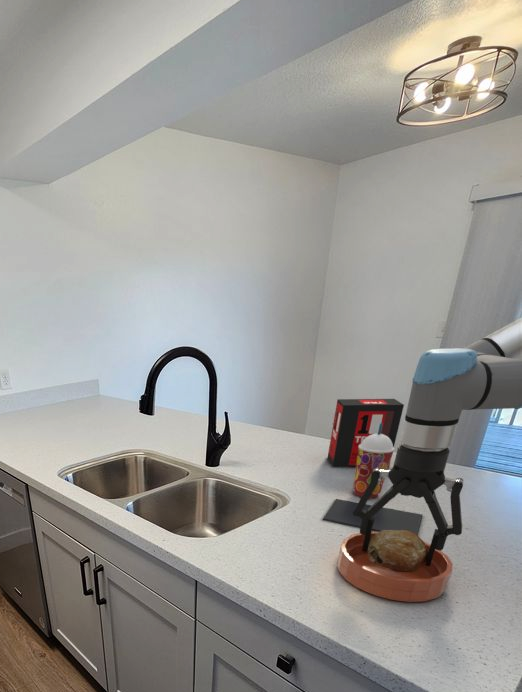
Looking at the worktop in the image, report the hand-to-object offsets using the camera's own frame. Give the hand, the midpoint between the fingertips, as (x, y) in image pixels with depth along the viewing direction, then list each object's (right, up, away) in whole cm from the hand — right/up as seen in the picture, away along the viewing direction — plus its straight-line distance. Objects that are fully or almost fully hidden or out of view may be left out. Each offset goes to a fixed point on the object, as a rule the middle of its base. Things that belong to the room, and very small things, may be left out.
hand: (395, 555), depth 85 cm
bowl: (0, -4, +2) cm, 5 cm away
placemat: (+10, +8, +24) cm, 27 cm away
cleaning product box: (+25, +26, +59) cm, 69 cm away
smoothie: (+15, +14, +37) cm, 43 cm away
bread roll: (0, -1, 0) cm, 1 cm away
